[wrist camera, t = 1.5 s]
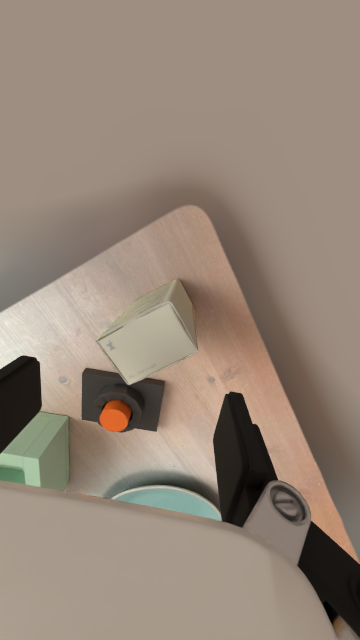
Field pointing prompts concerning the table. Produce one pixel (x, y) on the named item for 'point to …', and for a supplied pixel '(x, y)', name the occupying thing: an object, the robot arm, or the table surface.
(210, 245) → the table surface
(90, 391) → the block
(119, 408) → the button
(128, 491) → the plate
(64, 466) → the mint green storage bin
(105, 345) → the cosmetic box
